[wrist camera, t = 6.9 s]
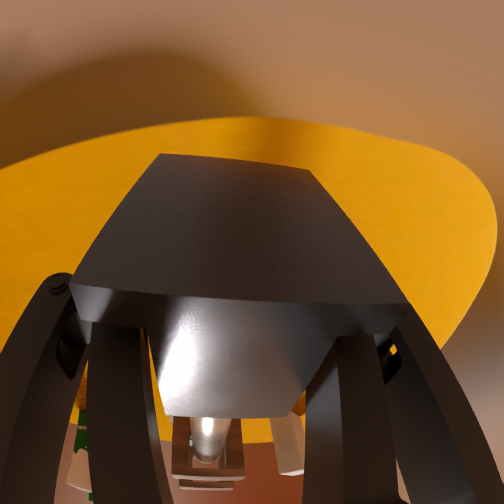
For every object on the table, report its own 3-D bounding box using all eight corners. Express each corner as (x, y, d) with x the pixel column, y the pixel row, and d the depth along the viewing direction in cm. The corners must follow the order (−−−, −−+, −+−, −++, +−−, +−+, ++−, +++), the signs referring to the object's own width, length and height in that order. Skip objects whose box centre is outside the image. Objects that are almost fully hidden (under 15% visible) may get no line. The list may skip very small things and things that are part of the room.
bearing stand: (236, 421, 45) (242, 492, 33) (171, 418, 43) (169, 489, 31) (259, 348, 32) (276, 467, 20) (156, 342, 30) (142, 463, 18)
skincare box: (267, 414, 44) (276, 474, 34) (290, 407, 43) (302, 469, 33) (281, 422, 47) (290, 476, 37) (302, 416, 46) (313, 471, 36)
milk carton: (100, 425, 47) (92, 501, 30) (73, 408, 42) (59, 490, 25) (128, 426, 46) (122, 508, 30) (101, 408, 41) (88, 500, 25)
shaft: (235, 422, 29) (241, 489, 22) (177, 420, 28) (175, 488, 20) (308, 170, 13) (409, 302, 5) (159, 153, 12) (68, 283, 4)
